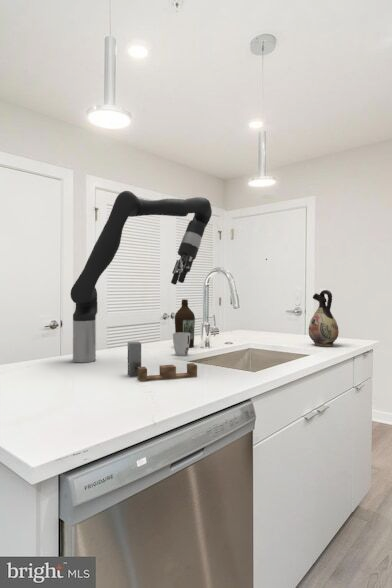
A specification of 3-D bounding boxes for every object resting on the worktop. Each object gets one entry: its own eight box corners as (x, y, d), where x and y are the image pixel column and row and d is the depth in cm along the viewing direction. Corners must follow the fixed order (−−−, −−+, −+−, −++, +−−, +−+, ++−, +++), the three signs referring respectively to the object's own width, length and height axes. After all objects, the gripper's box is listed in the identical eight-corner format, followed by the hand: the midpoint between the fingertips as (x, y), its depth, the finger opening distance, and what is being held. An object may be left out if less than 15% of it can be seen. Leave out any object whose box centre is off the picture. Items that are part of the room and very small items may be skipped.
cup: (189, 356, 173) (189, 334, 173) (172, 356, 173) (172, 334, 173) (190, 353, 181) (190, 332, 181) (173, 353, 181) (173, 332, 181)
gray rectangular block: (129, 376, 132) (129, 343, 132) (127, 374, 137) (127, 342, 136) (141, 376, 134) (141, 343, 134) (138, 373, 138) (138, 341, 138)
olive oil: (171, 346, 202) (170, 299, 202) (187, 345, 208) (187, 299, 207) (181, 349, 193) (181, 299, 193) (198, 347, 199) (198, 299, 199)
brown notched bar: (140, 381, 126) (140, 369, 126) (137, 378, 129) (137, 367, 129) (197, 376, 132) (197, 365, 132) (193, 374, 136) (193, 363, 136)
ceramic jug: (302, 344, 209) (302, 289, 209) (323, 342, 216) (324, 289, 215) (324, 348, 194) (325, 290, 193) (347, 346, 200) (347, 289, 200)
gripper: (175, 245, 158) (162, 281, 155) (188, 238, 145) (174, 277, 142) (191, 252, 161) (179, 287, 158) (205, 246, 147) (191, 285, 144)
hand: (176, 283), depth 150 cm, fingers open, 8 cm apart
